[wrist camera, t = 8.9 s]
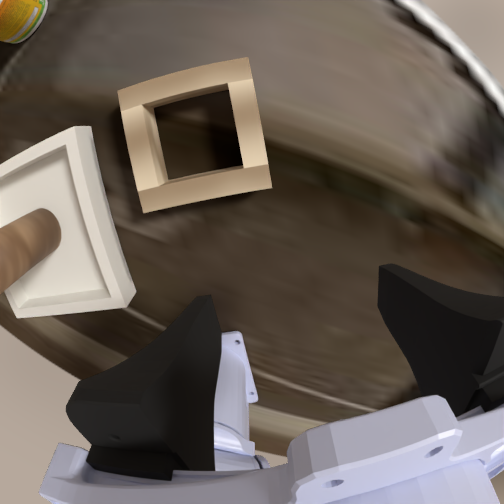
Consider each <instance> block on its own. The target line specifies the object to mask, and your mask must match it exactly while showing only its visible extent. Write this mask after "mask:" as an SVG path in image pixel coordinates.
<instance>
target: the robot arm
mask: <svg viewBox="0 0 504 504" xmlns="http://www.w3.org/2000/svg"><path fill="white" fill-rule="evenodd" d="M378 308H379V311H380V313H381V315H382V318H383V320H384V322H385V324H386V326H387V327H388V329H389V331H390V332H391V334H392V336H393V337H394V339H395V340H396V342H397V344H398V345H399V347H400V349H401V350H402V352H403V354H404V355H405V357H406V359H407V360H408V362H409V364H410V366H411V369H412V371H413V373H414V376H415V378H416V381H417V383H418V386H419V389H420V391H421V394H422V397H420V398H416V399H414V400H411V401H408V402H405V403H402V404H399V405H395V406H392V407H389V408H386V409H382V410H379V411H375V412H372V413H368V414H364V415H360V416H356V417H352V418H348V419H344V420H339V421H335V422H330V423H326V424H323V425H320V426H317V427H314V428H311V429H308V430H307V431H305V432H304V433H302V434H301V435H299V436H298V437H296V438H295V439H293V440H292V441H291V443H290V445H289V448H288V450H287V458H288V463H287V464H283V465H279V466H276V467H270V465H269V463H268V461H267V460H266V459H265V458H264V457H263V456H259V455H255V443H254V442H252V441H249V403H252V402H256V401H258V395H257V391H256V387H255V384H254V380H253V376H252V372H251V368H250V364H249V361H248V357H247V353H246V349H245V345H244V341H243V337H242V334H241V333H240V332H238V331H233V332H225V333H222V332H221V329H220V325H219V322H218V319H217V315H216V312H215V308H214V305H213V301H212V298H211V295H206V296H199V297H196V298H195V299H194V300H193V301H192V302H191V303H190V304H189V305H188V307H187V308H186V309H185V310H184V311H183V312H182V313H181V314H180V315H179V316H178V317H177V319H176V320H175V321H174V322H173V323H172V324H171V325H170V326H169V327H168V328H167V329H166V330H165V331H163V332H162V333H161V334H160V335H159V336H158V337H157V338H156V339H155V340H153V341H152V342H151V343H150V344H148V345H147V346H146V347H145V348H143V349H142V350H141V351H139V352H137V353H136V354H134V355H133V356H131V357H130V358H128V359H127V360H125V361H123V362H122V363H120V364H118V365H116V366H114V367H112V368H110V369H108V370H106V371H104V372H102V373H100V374H97V375H94V376H92V377H89V378H87V379H84V380H81V381H79V382H78V384H77V386H76V388H75V390H74V392H73V394H72V396H71V397H70V400H69V401H68V403H67V405H66V413H67V415H68V417H69V419H70V421H71V422H72V423H73V425H74V426H75V427H76V428H77V429H78V430H79V432H80V433H81V434H82V435H83V436H84V437H85V438H86V439H87V440H88V441H89V442H90V443H91V444H92V446H91V448H90V451H87V450H85V449H83V448H80V447H77V446H72V445H67V444H63V443H58V446H57V448H56V450H55V453H54V455H53V458H52V460H51V462H50V465H49V467H48V469H47V472H46V474H45V477H44V480H43V482H42V485H41V487H40V490H39V494H40V495H41V496H42V497H44V498H45V499H47V500H48V501H50V502H51V503H53V504H500V502H499V500H498V498H497V495H496V493H495V490H494V488H493V486H492V483H491V481H490V479H491V478H493V477H494V476H496V475H497V474H498V473H500V472H501V471H502V470H504V297H498V296H489V295H483V294H477V293H472V292H468V291H464V290H460V289H457V288H453V287H450V286H447V285H444V284H442V283H439V282H436V281H434V280H431V279H429V278H426V277H424V276H422V275H419V274H417V273H415V272H412V271H410V270H408V269H405V268H403V267H401V266H398V265H395V264H386V265H381V266H379V284H378ZM236 340H239V342H236ZM251 392H252V393H251Z"/></svg>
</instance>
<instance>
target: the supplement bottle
mask: <svg viewBox="0 0 504 504" xmlns="http://www.w3.org/2000/svg"><path fill="white" fill-rule="evenodd" d="M47 6H48V2H47V0H0V41H4V42H8V43H19V42H22V41H24V40H25V39H27V38H28V37H29V36H30V35H32V34H33V32H34V31H35V30H36V29H37V28H38V26H39V25H40V23H41V22H42V20H43V18H44V16H45V14H46V10H47Z"/></svg>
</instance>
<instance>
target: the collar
mask: <svg viewBox="0 0 504 504" xmlns="http://www.w3.org/2000/svg"><path fill="white" fill-rule="evenodd" d="M225 90H229V92H230V97H231V103H232V108H233V113H234V118H235V124H236V129H237V134H238V140H239V145H240V150H241V156H242V161H243V165H241V166H235V167H230V168H225V169H220V170H215V171H210V172H205V173H200V174H195V175H191V176H186V177H182V178H178V179H173V180H169V181H168V176H167V172H166V167H165V163H164V158H163V153H162V149H161V144H160V139H159V134H158V129H157V124H156V118H155V113H154V108H155V107H158V106H162V105H165V104H169V103H173V102H176V101H180V100H184V99H188V98H192V97H197V96H201V95H205V94H210V93H215V92H220V91H225ZM118 97H119V103H120V109H121V114H122V120H123V125H124V131H125V136H126V141H127V146H128V151H129V155H130V160H131V164H132V169H133V173H134V177H135V182H136V186H137V190H138V194H139V198H140V202H141V206H142V210H143V213H147V212H151V211H156V210H160V209H164V208H169V207H174V206H178V205H183V204H188V203H193V202H197V201H202V200H207V199H212V198H218V197H223V196H228V195H234V194H239V193H245V192H250V191H256V190H262V189H268V188H272V184H271V178H270V172H269V167H268V161H267V155H266V149H265V144H264V138H263V132H262V127H261V121H260V116H259V110H258V105H257V100H256V95H255V89H254V84H253V79H252V74H251V69H250V64H249V59H248V57H246V58H240V59H234V60H228V61H223V62H218V63H213V64H208V65H204V66H199V67H195V68H191V69H187V70H183V71H179V72H175V73H172V74H168V75H164V76H161V77H158V78H154V79H151V80H148V81H145V82H142V83H139V84H136V85H133V86H130V87H127V88H124V89H121V90H119V91H118Z"/></svg>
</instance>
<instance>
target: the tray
mask: <svg viewBox="0 0 504 504" xmlns="http://www.w3.org/2000/svg"><path fill="white" fill-rule="evenodd" d="M39 208H45V209H47V210H49V211H51V212H52V213H53V214H54V215H55V217H56V218H57V220H58V222H59V224H60V228H61V242H60V245H59V247H58V248H57V249H56V250H55V251H53V252H52V253H51V254H49V255H48V256H47V257H45V258H44V259H43V260H42V261H40V262H39V263H38V264H36V265H35V266H34V267H33V268H31V269H30V270H29V271H28V272H26V273H25V274H24V275H23V276H22V277H20V278H19V279H18V280H17V281H16V282H14V283H13V284H12V285H11V286H10V287H8V288H7V289H6V290H5V291H4V292H5V294H6V296H7V299H8V301H9V303H10V305H11V307H12V309H13V311H14V313H15V315H16V317H17V318H26V317H38V316H49V315H60V314H70V313H80V312H90V311H99V310H108V309H116V308H125V307H127V306H128V304H129V303H130V301H131V299H132V298H133V296H134V295H135V293H136V289H135V286H134V284H133V281H132V278H131V275H130V273H129V270H128V267H127V264H126V261H125V258H124V255H123V252H122V249H121V246H120V242H119V239H118V236H117V233H116V229H115V226H114V223H113V219H112V216H111V212H110V208H109V205H108V201H107V197H106V193H105V189H104V185H103V181H102V177H101V173H100V169H99V164H98V160H97V155H96V150H95V145H94V140H93V135H92V130H91V126H74V127H72V128H69V129H67V130H65V131H63V132H61V133H58V134H56V135H54V136H52V137H50V138H48V139H46V140H44V141H42V142H40V143H38V144H36V145H34V146H32V147H31V148H29V149H27V150H25V151H23V152H21V153H20V154H18V155H16V156H14V157H12V158H11V159H9V160H7V161H6V162H4V163H2V164H1V165H0V228H1V227H3V226H5V225H7V224H9V223H11V222H13V221H14V220H16V219H18V218H20V217H22V216H24V215H26V214H28V213H30V212H32V211H34V210H36V209H39Z"/></svg>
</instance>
